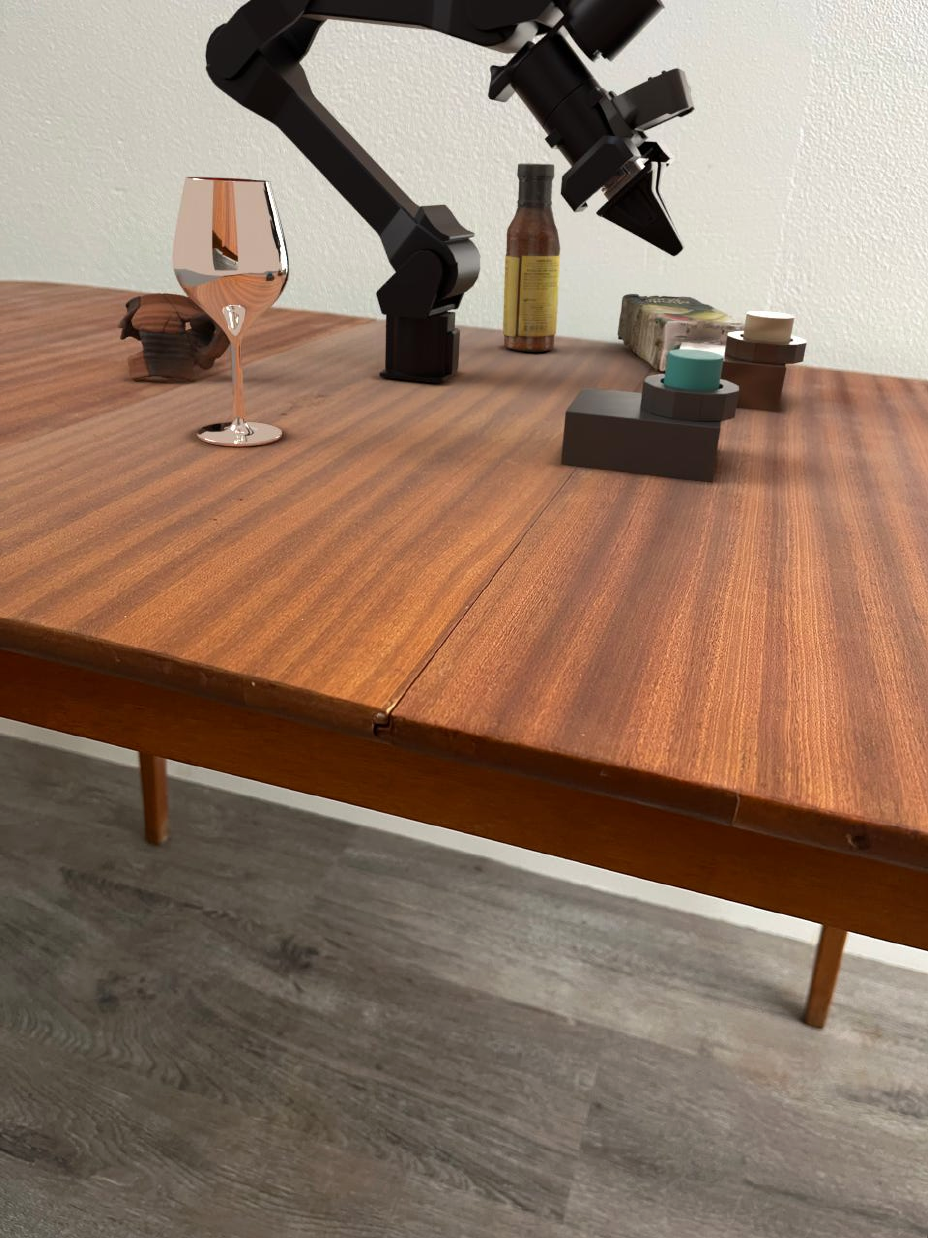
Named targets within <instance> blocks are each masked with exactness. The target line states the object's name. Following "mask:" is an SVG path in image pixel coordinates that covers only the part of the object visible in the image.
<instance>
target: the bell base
mask: <svg viewBox="0 0 928 1238" xmlns="http://www.w3.org/2000/svg"><path fill="white" fill-rule="evenodd" d="M743 333H744V331H736V332H729V333H728V334H727V340H726V346H722V345H711V344H700V343H689V342H682V343H681V346H680V349H691V350H702V351H709V352H713V353H717V354H720V355H722V356H723V357H724V359H723V366H722V372H721V378H720V379H722V380H726V381H729V382H731V383H733V384H736V385H738V386H739V396H738V402H737V408H736V409H744V410H745V409H747V410H755V411H763V412H764V411H765V412H776V413H778V412H779V409H780V404H781V399H782V394H783V388H784V383H785V377H786V371H787V365H795V364H799V363H803V362H804V358H805V353H806V348H807V343H808V342H807V341H806V339H805V338H802V337H798V336H795V335H791V339H790V342H766V341H757V340H751V339H746V338H743Z"/></svg>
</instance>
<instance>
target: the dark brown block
mask: <svg viewBox="0 0 928 1238" xmlns="http://www.w3.org/2000/svg"><path fill="white" fill-rule="evenodd" d="M664 378H665V373H657V374H651V375H647V376H645V378H644V379H643V382H642V389H641V392H635V391H624V390H617V389H616V390H615V389H606V388H605V389H604V388H594V387H587V386H582V388H581V389H580V391H579V392H578V394H577V395H576V396H575V397H574V399H573V401H572V402H571V403H570V405H569V406H568V408H567V409H566V411H565V415H564V424H563V425H564V426H563V435H562V446H561V454H560V455H561V456H560V465H561V466H569V467H571V466H572V467H579V468H587V469H594V470H595V469H596V470H604V471H612V472H621V473H629V474H637V475H645V476H653V477H654V476H655V477H663V478H671V479H679V480H688V481H695V482H696V481H697V482H705V483H713V478H714V472H715V465H716V459H717V453H718V447H719V441H720V435H721V429H722V428H721V427H722V422H724V421H725V422H726V421H728V420H732V419H736V414H737V409H738V408H737V402H738V396H739V386H738V385H736V384H733V383H731V382H729V381H726V380H722V379H720V384H719V389H718V390H701V391H700V390H690V389H681V388H676V387H671V386H667V385H665V384H664Z"/></svg>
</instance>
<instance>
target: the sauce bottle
mask: <svg viewBox="0 0 928 1238" xmlns="http://www.w3.org/2000/svg"><path fill="white" fill-rule="evenodd" d="M516 172H517V174H516V176H517V179H518V192H517V193H518V197H517V201H516V203H517V208H516V211H515V214H514V217H513V219H512V220H511V222H510V224H509V225H508V227H507V230H506V248H505V249H506V251H505V252H506V253H505V255H504V256H505V257H504V282H503V284H504V285H503V315H502V316H503V317H502V335H504V336H503V337H504V338H503V345H504V347H505V348H506V349H509V350H514V351H517V352H524V353H525V352H526V353H540V352H542V353H543V352H547V351H551V350H553V349H554V347H555V335H556V334H557V325H558V304H559V288H560V287H559V285H560V266H561V265H560V263H561V244H560V238H559V237H560V236H559V233H558V228H557V226H556V223H555V217H554V213H553V208H552V206H553V201H552V200H553V199H552V197H553V195H552V194H553V180H554V178H555V164H554V163H532V162H524V163H518V164H517V171H516Z"/></svg>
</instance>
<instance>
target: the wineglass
mask: <svg viewBox="0 0 928 1238" xmlns="http://www.w3.org/2000/svg"><path fill="white" fill-rule="evenodd" d="M178 207H179V208H178V213H177V219H176V224H175V230H174V236H173V243H172V254H171V255H172V256H171V257H172V260H171V261H172V269H173V273H174V276H175V278H176V279H175V280H176V281H177V283H178V285H179V286H180V288H181V290H182V291H183V292H184V293H185V296H186V297H189V298H190V299H191V300H192V301H193V302H194V303H195V304H196V305H197V306H198V307H199V308H200V309H201V310H202V311H203V312H205V313H206V314H207V315H208V316H209V317H210V318H211V319H212V320H214V321H215V322H216V323H217V324H218V325H219V326H220V327H221V329H222V330H223V331H224V332H225V334H226V335H227V337H228V339H229V341H230V345H229V347H230V348H229V349H230V364H231V365H230V366H231V380H232V381H231V384H232V420H231V421H226V422H217V423H212V424H208V425H205V426H203V427H200V428H199V429H198V430H197V432H196V436H197V438H198V439H199V440H200V441H202V442H205V443H207V444H212V445H216V446H225V447H252V446H253V447H254V446H261V445H262V446H263V445H267V444H270V443H274V442H277V441H278V440H280V439H281V438H282V436H283V431H282V430H281V429H280V428H278V427H277V426H274V425H271V424H268V423H262V422H254V421H247V418H246V411H245V409H246V408H245V397H244V396H245V395H244V377H243V376H244V375H243V354H242V353H243V352H242V351H243V349H242V342H243V339H244V337H245V335H246V334H247V332H248V331H249V329H250V328H251V327H252V325H254V324H255V323H256V322H257V321H258V320H259V319H260V318H261V317H262V316H263V315H264V314H265V313H266V312H268V310H269V309H270V308H272V306H273V305H274V304H275V303H276V302H277V301H278V300H279V299H280V297H281V296H282V294H283V292H284V291H285V289H286V287H287V286H288V282H289V278H290V274H291V259H290V252H289V248H288V243H287V238H286V235H285V230H284V227H283V223H282V220H281V215H280V212H279V208H278V204H277V201H276V197H275V194H274V189H273V187H272V184H271V181H270V180H264V179H256V178H255V179H254V178H253V179H252V178H241V177H240V178H239V177H237V178H236V177H218V176H217V177H216V176H185V177H184V182H183V186H182V192H181V196H180V203H179V206H178Z"/></svg>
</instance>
